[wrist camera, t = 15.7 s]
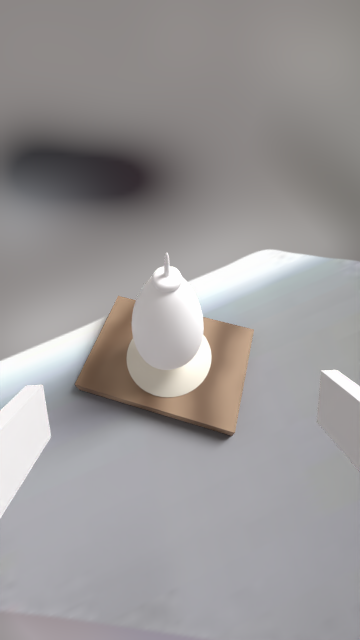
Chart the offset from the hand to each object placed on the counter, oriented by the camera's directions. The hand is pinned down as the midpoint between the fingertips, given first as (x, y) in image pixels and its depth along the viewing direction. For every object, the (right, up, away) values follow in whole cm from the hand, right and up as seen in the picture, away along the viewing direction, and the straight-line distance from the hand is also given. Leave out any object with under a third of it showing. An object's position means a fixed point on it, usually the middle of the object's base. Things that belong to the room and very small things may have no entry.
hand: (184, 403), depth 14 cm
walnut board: (-2, -2, +26) cm, 26 cm away
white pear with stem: (-2, -1, +24) cm, 25 cm away
